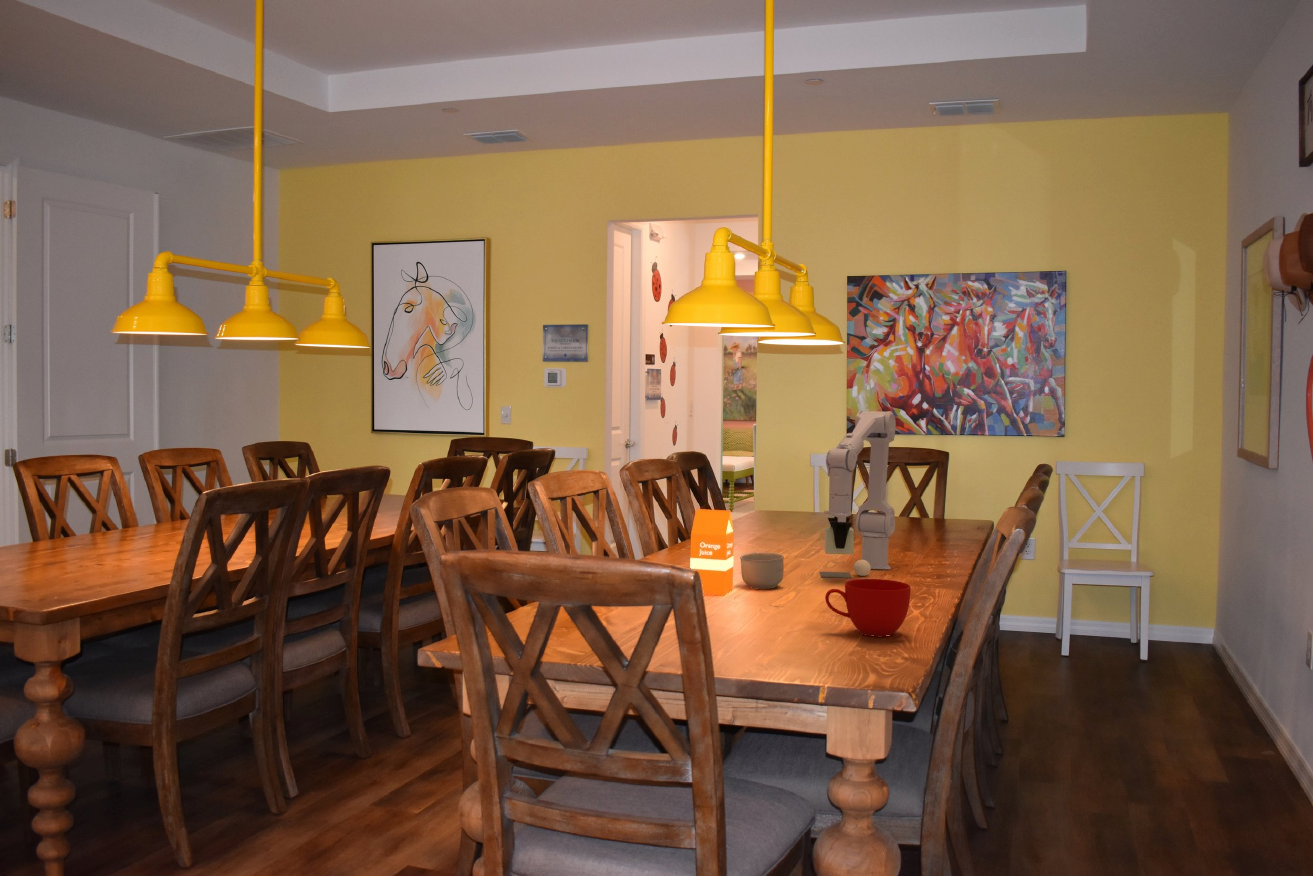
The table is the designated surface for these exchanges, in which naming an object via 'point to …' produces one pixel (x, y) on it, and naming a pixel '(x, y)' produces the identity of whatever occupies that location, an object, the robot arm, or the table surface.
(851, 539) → the beige cuboid
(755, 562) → the teacup
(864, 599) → the ceramic cup
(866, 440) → the robot arm
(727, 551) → the orange juice
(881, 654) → the table surface
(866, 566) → the ball
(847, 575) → the thin dark grey panel
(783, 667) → the table surface
